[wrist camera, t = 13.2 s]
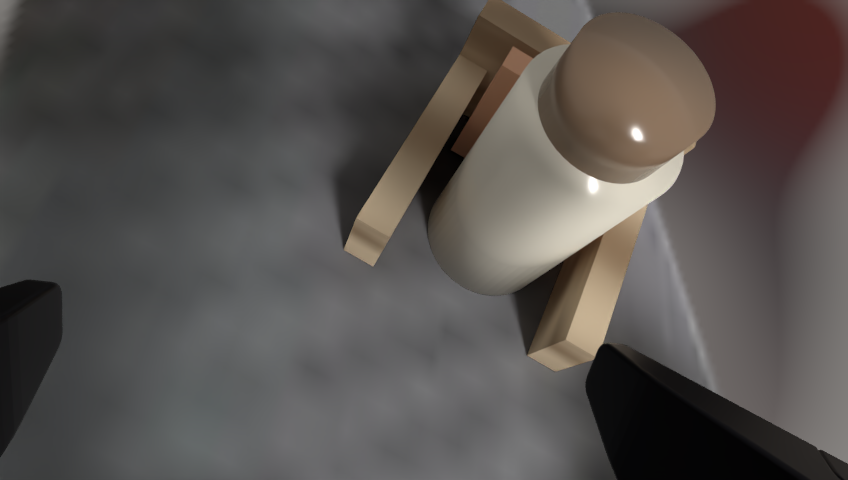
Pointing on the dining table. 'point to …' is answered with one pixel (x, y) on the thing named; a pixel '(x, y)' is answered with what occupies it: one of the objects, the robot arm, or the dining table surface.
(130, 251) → the dining table surface
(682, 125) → the jar
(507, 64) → the plate
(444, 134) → the wooden frame
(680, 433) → the robot arm
